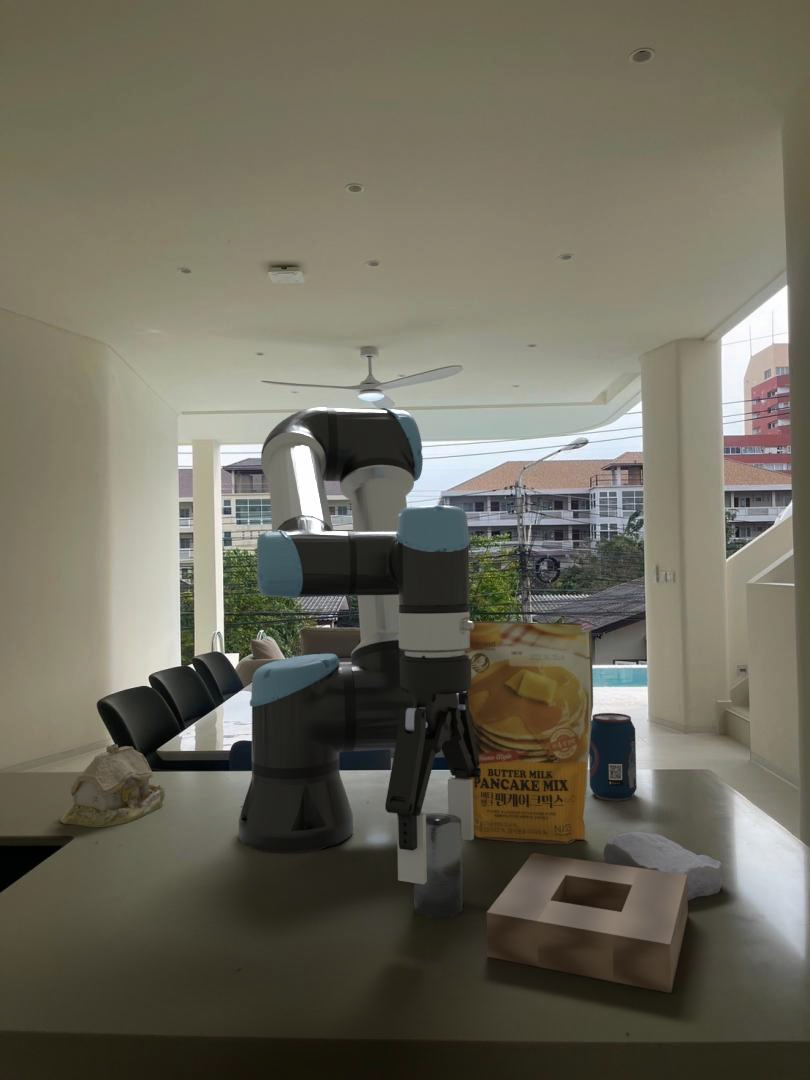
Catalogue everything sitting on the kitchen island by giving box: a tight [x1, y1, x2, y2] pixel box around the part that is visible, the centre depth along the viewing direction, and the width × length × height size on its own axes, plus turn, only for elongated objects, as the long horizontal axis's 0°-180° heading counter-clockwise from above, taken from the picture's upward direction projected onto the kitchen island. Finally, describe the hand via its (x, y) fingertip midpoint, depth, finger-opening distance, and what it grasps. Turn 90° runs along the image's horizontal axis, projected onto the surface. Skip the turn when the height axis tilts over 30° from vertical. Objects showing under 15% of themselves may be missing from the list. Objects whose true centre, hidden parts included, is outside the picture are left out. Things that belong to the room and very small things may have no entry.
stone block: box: [603, 830, 725, 901], centre depth 90 cm, size 12×5×10 cm
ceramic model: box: [59, 743, 166, 828], centre depth 117 cm, size 14×11×10 cm
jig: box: [486, 852, 689, 994], centre depth 77 cm, size 16×16×4 cm
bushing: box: [413, 812, 463, 919], centre depth 84 cm, size 5×5×9 cm
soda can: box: [588, 712, 638, 802], centre depth 123 cm, size 7×7×12 cm
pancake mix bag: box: [465, 620, 594, 845], centre depth 106 cm, size 7×19×28 cm, turn 78°
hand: (438, 858), depth 83 cm, fingers open, 13 cm apart
